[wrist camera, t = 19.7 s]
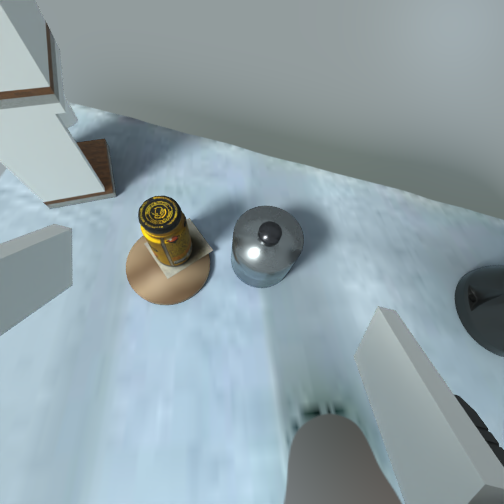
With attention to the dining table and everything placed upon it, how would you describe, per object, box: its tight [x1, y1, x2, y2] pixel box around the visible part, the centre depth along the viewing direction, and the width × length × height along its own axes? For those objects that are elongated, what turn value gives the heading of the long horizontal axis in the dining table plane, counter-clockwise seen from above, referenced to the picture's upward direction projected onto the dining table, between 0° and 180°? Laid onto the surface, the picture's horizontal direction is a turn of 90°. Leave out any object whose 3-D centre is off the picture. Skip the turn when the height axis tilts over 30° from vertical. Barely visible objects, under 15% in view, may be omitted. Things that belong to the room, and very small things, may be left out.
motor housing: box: [231, 206, 304, 288], centre depth 43 cm, size 10×10×10 cm
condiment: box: [138, 196, 213, 279], centre depth 41 cm, size 7×8×12 cm
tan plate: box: [126, 236, 210, 305], centre depth 46 cm, size 13×13×1 cm
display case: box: [0, 0, 116, 209], centre depth 35 cm, size 11×11×35 cm
